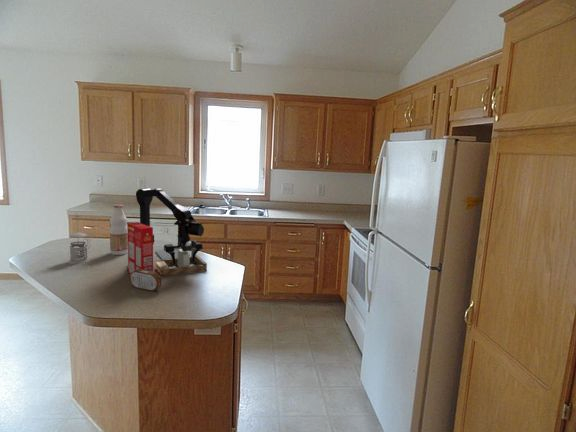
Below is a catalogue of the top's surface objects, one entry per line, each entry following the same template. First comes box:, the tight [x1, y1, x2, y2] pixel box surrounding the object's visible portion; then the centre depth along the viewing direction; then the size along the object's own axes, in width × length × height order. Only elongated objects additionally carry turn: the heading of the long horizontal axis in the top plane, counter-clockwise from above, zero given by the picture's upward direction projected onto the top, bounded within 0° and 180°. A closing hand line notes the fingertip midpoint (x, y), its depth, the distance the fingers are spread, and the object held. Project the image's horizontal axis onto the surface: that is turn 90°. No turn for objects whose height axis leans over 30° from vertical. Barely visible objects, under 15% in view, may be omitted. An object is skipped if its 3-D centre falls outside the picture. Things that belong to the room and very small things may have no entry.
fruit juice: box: [109, 204, 128, 256], centre depth 215 cm, size 9×9×28 cm
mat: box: [155, 249, 178, 260], centre depth 219 cm, size 14×18×1 cm
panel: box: [177, 249, 191, 268], centre depth 196 cm, size 3×12×9 cm, turn 31°
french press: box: [68, 214, 91, 265], centre depth 198 cm, size 10×12×25 cm
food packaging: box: [126, 221, 154, 275], centre depth 179 cm, size 15×5×25 cm, turn 47°
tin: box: [129, 269, 163, 292], centre depth 165 cm, size 15×3×8 cm, turn 71°
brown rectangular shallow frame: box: [155, 254, 208, 277], centre depth 196 cm, size 22×18×4 cm
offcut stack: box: [155, 261, 170, 275], centre depth 191 cm, size 4×13×4 cm, turn 31°
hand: (183, 263), depth 196 cm, fingers open, 9 cm apart
